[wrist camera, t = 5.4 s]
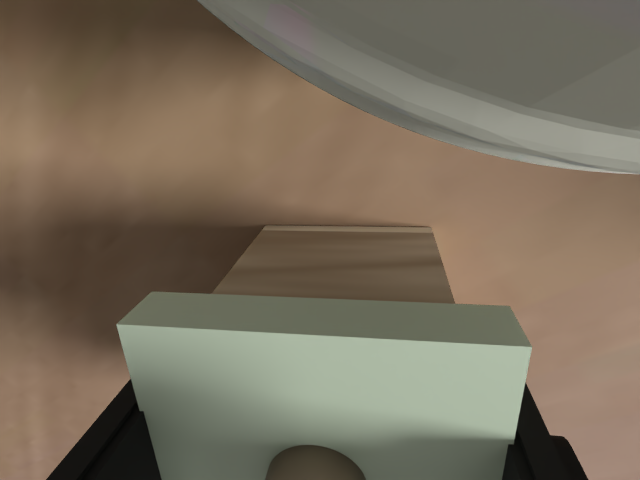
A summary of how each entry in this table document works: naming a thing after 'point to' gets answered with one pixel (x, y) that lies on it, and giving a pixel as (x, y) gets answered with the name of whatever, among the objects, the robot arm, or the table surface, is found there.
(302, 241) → the box
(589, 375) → the table surface
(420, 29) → the coffee cup
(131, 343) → the lid
